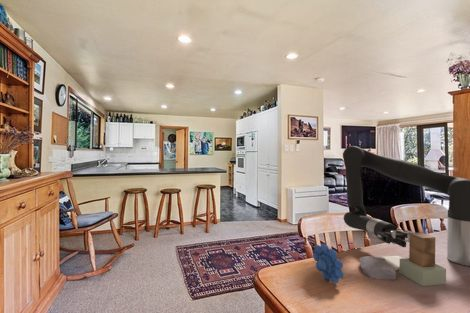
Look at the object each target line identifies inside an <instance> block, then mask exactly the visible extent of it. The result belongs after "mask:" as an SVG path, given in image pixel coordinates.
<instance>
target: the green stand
mask: <svg viewBox="0 0 470 313" xmlns="http://www.w3.org/2000/svg"><path fill="white" fill-rule="evenodd" d="M403 258H404V257H403ZM398 271H399V274H401V275H403V276H405V277H407V278H408V279H409V280H411V281H413V282H415V283H416V284H418V285H420V286H421V287H428V286H438V285H444V284H445V285H446V284H447V268H446V267H443V266H441V265H439V264H436V263H435V267H424V268H422V267H420V266H418V265H416V264H414V263H412V262H410V261H409V257H407V258H406V257H405V258H404V259H400V268H399V270H398Z"/></svg>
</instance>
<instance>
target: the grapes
mask: <svg viewBox="0 0 470 313" xmlns="http://www.w3.org/2000/svg"><path fill="white" fill-rule="evenodd" d="M337 257H338V254H337V251H336V250H335V249H333V248H329V246H328V245H327V243H322V244H320V245H319V244H316V245H315V246H314V252H313V253H312V259H313V260H314V261H315V268H316V269H317V271H319V272H321V273H322V277H323V279H325V280H326V281H329V280H330V281H331V282H332V283H334V284H338V283H339V280H340V279H343V278H344V272H343V271H342V269H343V267H344V265H343V264H344V263H343V262H342V261H341V259H339V258H337Z"/></svg>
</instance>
